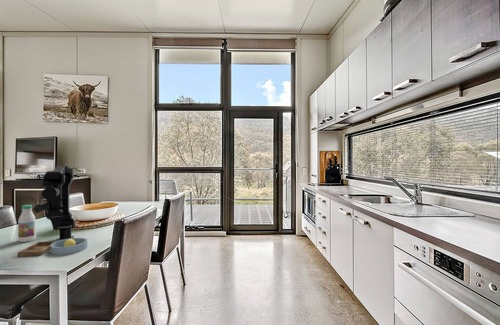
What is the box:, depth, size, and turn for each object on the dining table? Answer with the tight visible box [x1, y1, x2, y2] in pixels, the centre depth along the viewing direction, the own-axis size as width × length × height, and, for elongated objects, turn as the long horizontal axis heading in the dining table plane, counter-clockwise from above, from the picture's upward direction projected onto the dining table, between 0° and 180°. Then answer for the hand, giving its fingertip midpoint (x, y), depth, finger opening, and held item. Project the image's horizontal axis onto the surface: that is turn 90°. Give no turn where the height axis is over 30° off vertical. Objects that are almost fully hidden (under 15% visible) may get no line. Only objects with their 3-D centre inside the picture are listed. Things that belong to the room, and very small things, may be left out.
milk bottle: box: [17, 204, 37, 243], centre depth 152 cm, size 8×8×20 cm
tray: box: [16, 240, 58, 258], centre depth 135 cm, size 16×10×2 cm, turn 8°
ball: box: [64, 239, 76, 247], centre depth 137 cm, size 5×5×5 cm
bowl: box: [50, 237, 88, 256], centre depth 137 cm, size 16×16×4 cm
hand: (55, 227), depth 133 cm, fingers open, 9 cm apart
